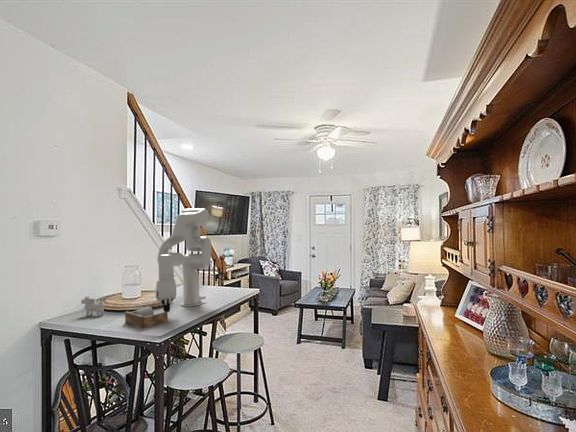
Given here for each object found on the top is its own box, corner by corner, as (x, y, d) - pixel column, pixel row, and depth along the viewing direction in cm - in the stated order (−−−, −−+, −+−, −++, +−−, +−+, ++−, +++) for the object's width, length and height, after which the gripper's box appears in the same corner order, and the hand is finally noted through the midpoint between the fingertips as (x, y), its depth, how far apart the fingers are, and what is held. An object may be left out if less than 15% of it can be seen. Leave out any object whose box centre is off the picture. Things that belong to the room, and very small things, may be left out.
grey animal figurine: (85, 313, 192) (85, 295, 192) (106, 314, 190) (105, 295, 190) (78, 316, 187) (78, 297, 187) (99, 316, 185) (99, 297, 185)
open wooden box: (150, 316, 182) (150, 306, 182) (167, 322, 172) (167, 310, 172) (125, 323, 172) (125, 311, 172) (141, 328, 161) (141, 317, 161)
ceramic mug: (131, 323, 170) (131, 308, 170) (147, 319, 177) (147, 305, 177) (141, 327, 163) (141, 312, 164) (157, 323, 170) (157, 308, 170)
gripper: (174, 274, 189) (175, 307, 189) (149, 278, 178) (149, 313, 178) (182, 276, 185) (182, 309, 184) (156, 280, 173) (157, 315, 173)
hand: (166, 311), depth 181 cm, fingers closed
